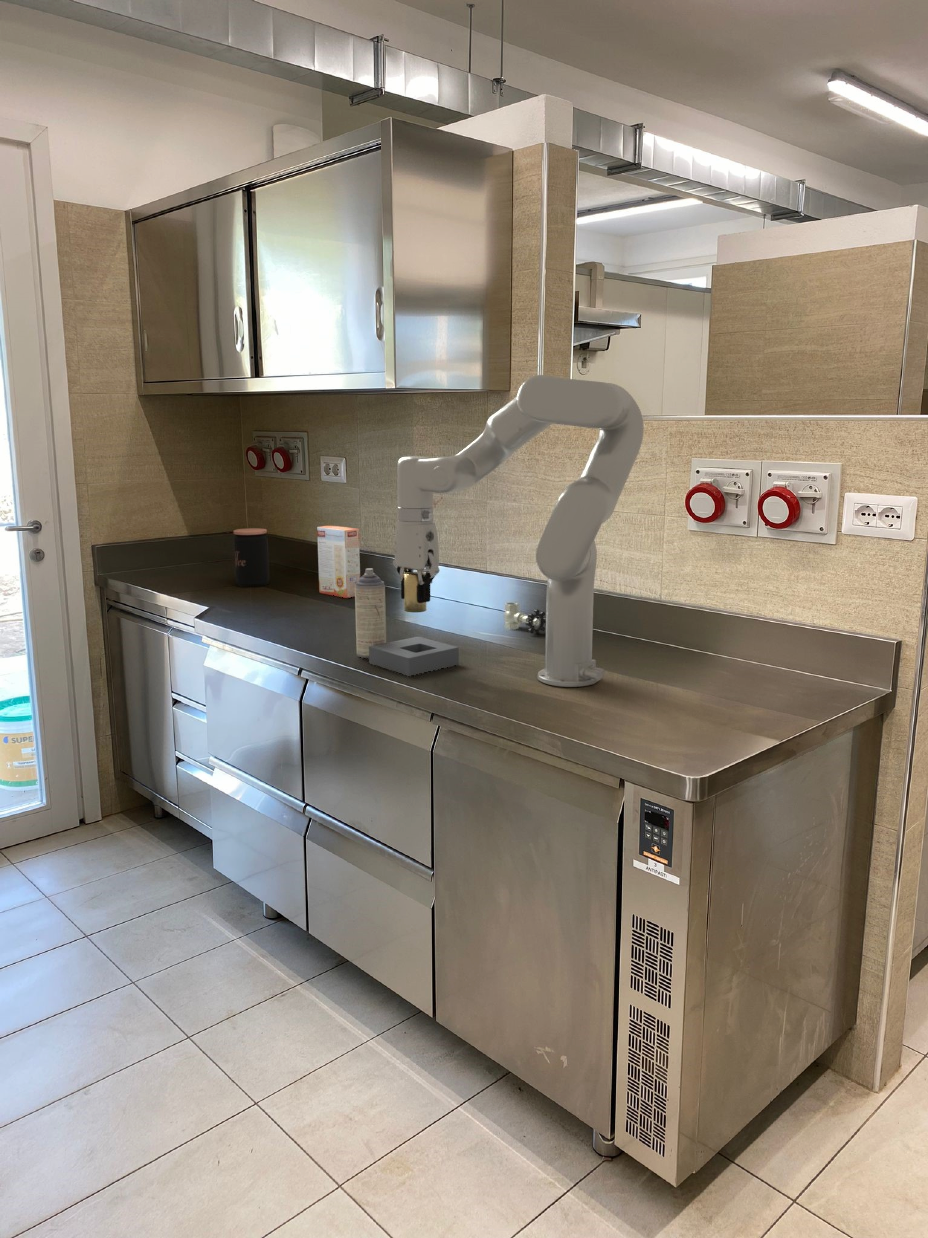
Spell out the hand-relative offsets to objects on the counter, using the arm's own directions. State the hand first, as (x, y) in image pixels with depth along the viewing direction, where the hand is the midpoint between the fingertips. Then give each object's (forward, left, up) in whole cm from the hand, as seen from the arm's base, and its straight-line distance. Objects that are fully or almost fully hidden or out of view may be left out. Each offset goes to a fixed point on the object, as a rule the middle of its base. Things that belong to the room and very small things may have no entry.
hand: (415, 599), depth 199 cm
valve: (+8, -41, -15) cm, 45 cm away
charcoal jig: (+1, 0, -15) cm, 15 cm away
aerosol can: (+14, +2, -15) cm, 21 cm away
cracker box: (+81, -35, -15) cm, 90 cm away
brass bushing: (0, 0, -2) cm, 2 cm away
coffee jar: (+115, -24, -15) cm, 119 cm away
